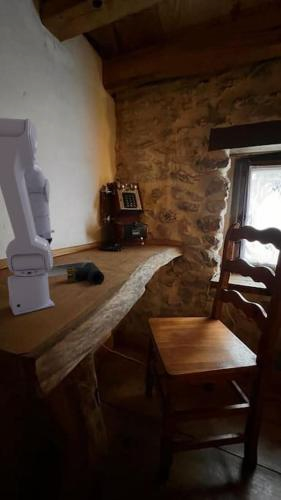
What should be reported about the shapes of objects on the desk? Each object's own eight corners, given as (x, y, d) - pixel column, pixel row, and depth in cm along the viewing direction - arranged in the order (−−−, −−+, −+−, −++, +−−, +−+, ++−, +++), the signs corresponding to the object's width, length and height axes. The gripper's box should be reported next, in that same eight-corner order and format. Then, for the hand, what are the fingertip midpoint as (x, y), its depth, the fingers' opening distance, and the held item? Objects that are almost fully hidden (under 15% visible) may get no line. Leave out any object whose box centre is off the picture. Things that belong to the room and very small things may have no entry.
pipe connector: (69, 272, 74) (65, 263, 88) (69, 288, 75) (66, 276, 88) (104, 270, 78) (95, 261, 92) (104, 285, 79) (96, 274, 93)
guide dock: (43, 280, 84) (42, 269, 83) (40, 277, 87) (39, 267, 86) (94, 271, 95) (94, 261, 95) (90, 269, 99) (90, 260, 98)
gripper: (59, 216, 68) (62, 261, 71) (47, 216, 80) (50, 254, 82) (34, 217, 64) (38, 264, 66) (24, 216, 76) (28, 257, 78)
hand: (43, 259), depth 74 cm, fingers closed
